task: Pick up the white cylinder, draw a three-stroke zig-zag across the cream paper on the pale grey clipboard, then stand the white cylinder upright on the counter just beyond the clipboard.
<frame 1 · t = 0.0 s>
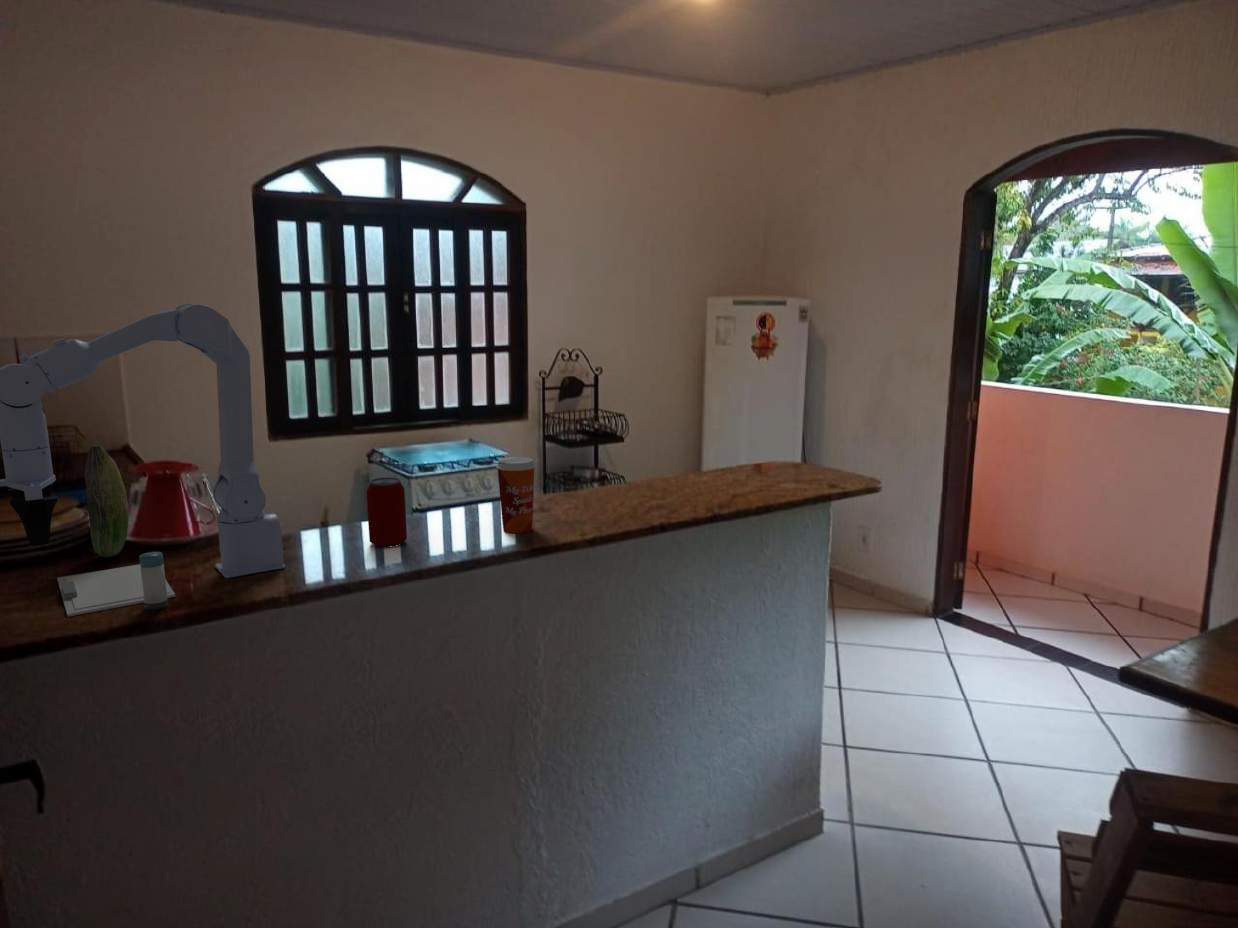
hand: (38, 538, 126), 10 cm above the countertop, tool pointing down, fingers open, 7 cm apart
white cylinder: (156, 606, 127), on the countertop
vegetable: (114, 557, 151), on the countertop
clipboard: (114, 588, 135), on the countertop
beverage can: (388, 544, 159), on the countertop
paper cup: (517, 530, 168), on the countertop
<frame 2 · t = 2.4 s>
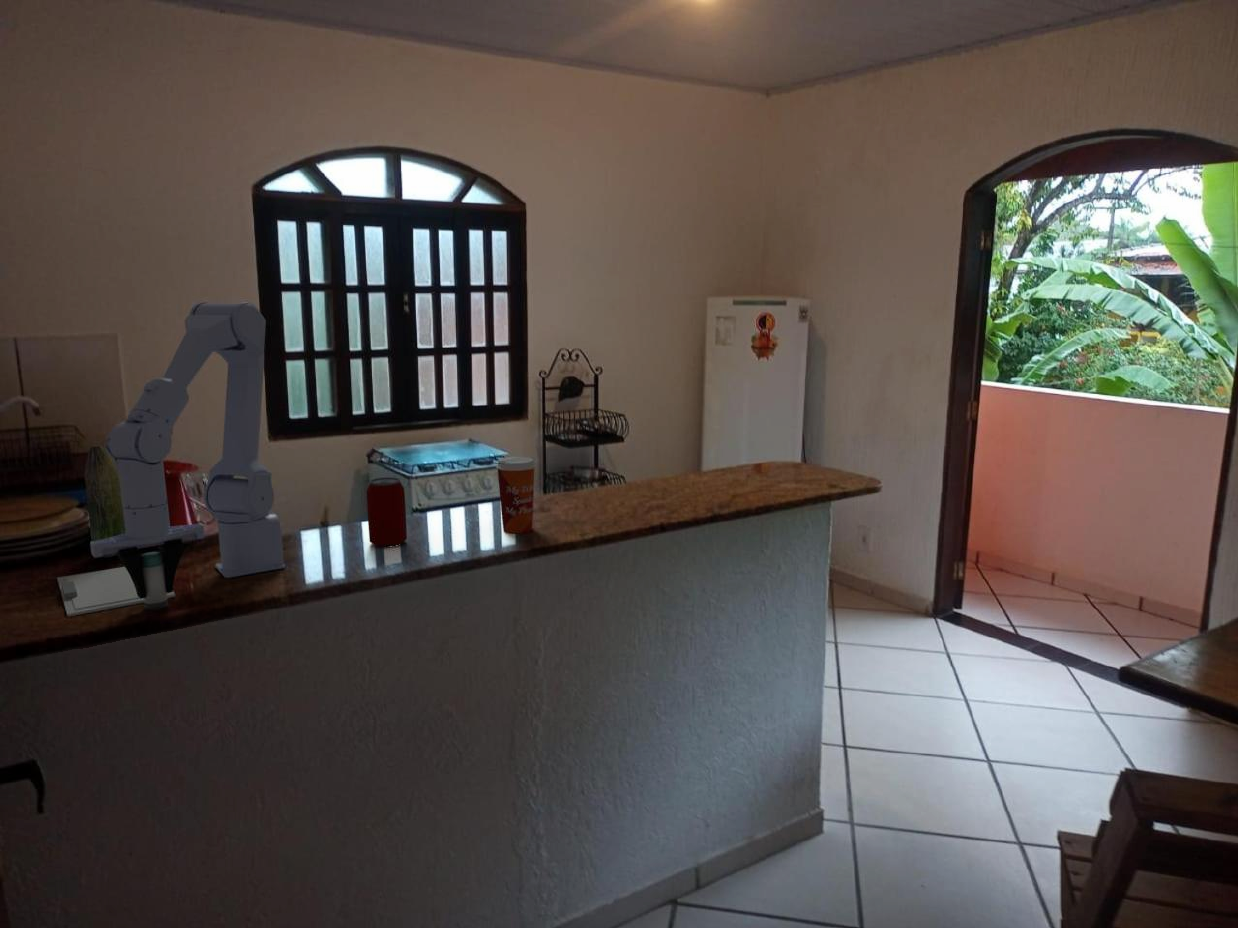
hand: (155, 593, 127), 2 cm above the countertop, tool pointing down, fingers closed on white cylinder, 3 cm apart
white cylinder: (156, 606, 127), on the countertop, touching gripper
everything else where it was.
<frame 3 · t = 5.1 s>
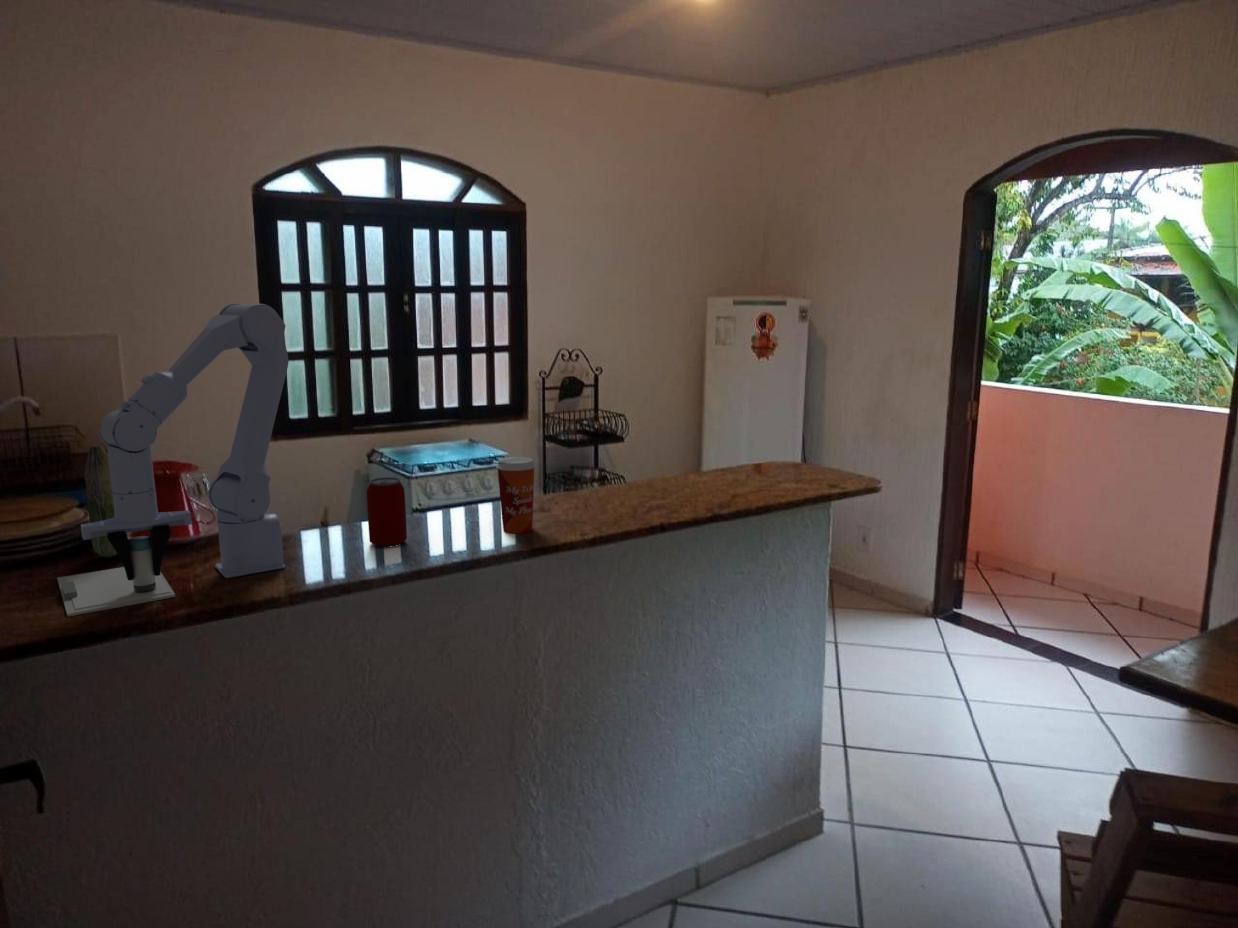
hand: (143, 576, 132), 3 cm above the countertop, tool pointing down, fingers closed on white cylinder, 3 cm apart
white cylinder: (145, 588, 132), point 1 cm above the countertop, touching gripper
everything else where it was.
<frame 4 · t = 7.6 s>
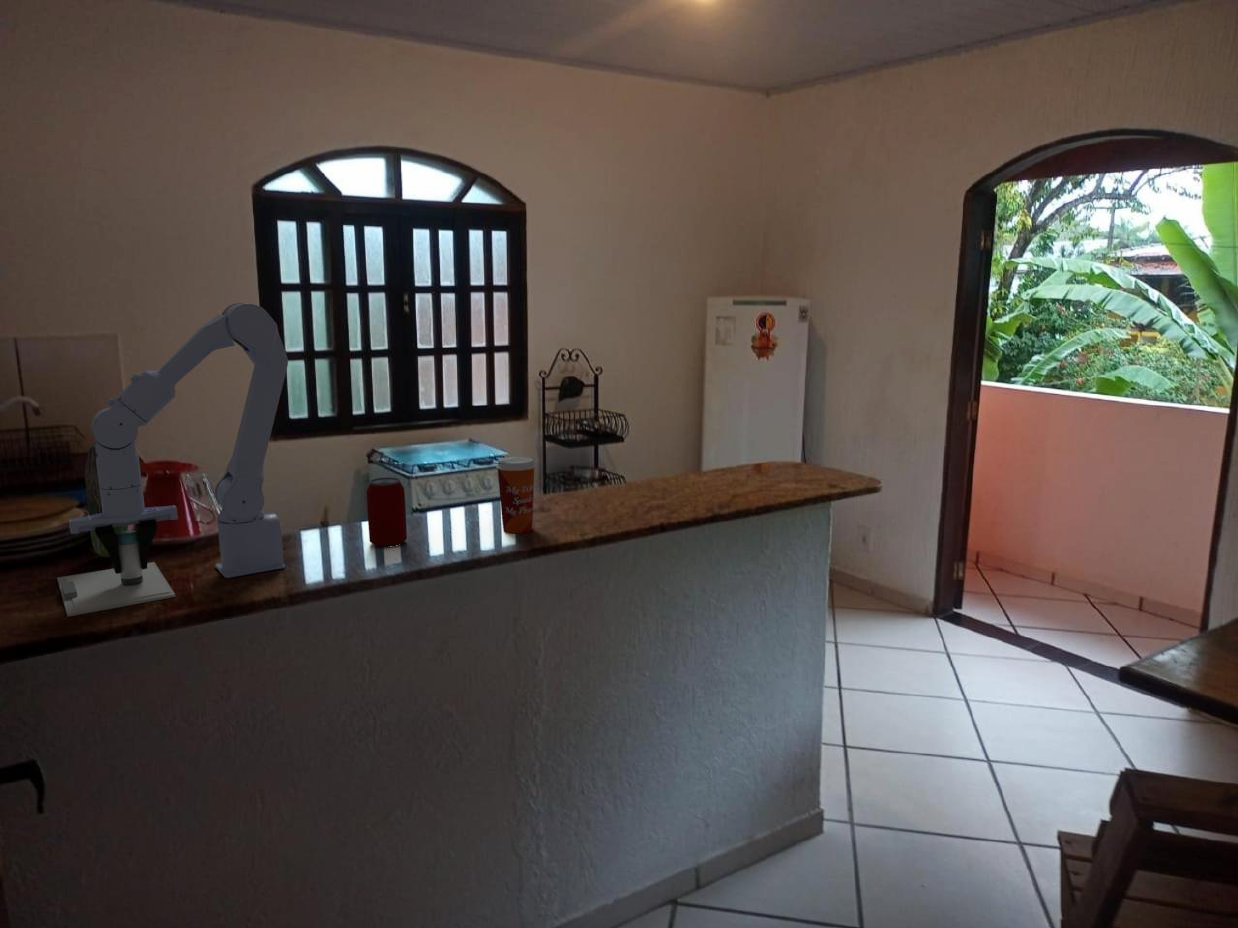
hand: (130, 569, 135), 3 cm above the countertop, tool pointing down, fingers closed on white cylinder, 3 cm apart
white cylinder: (132, 581, 135), point 1 cm above the countertop, touching gripper
everything else where it was.
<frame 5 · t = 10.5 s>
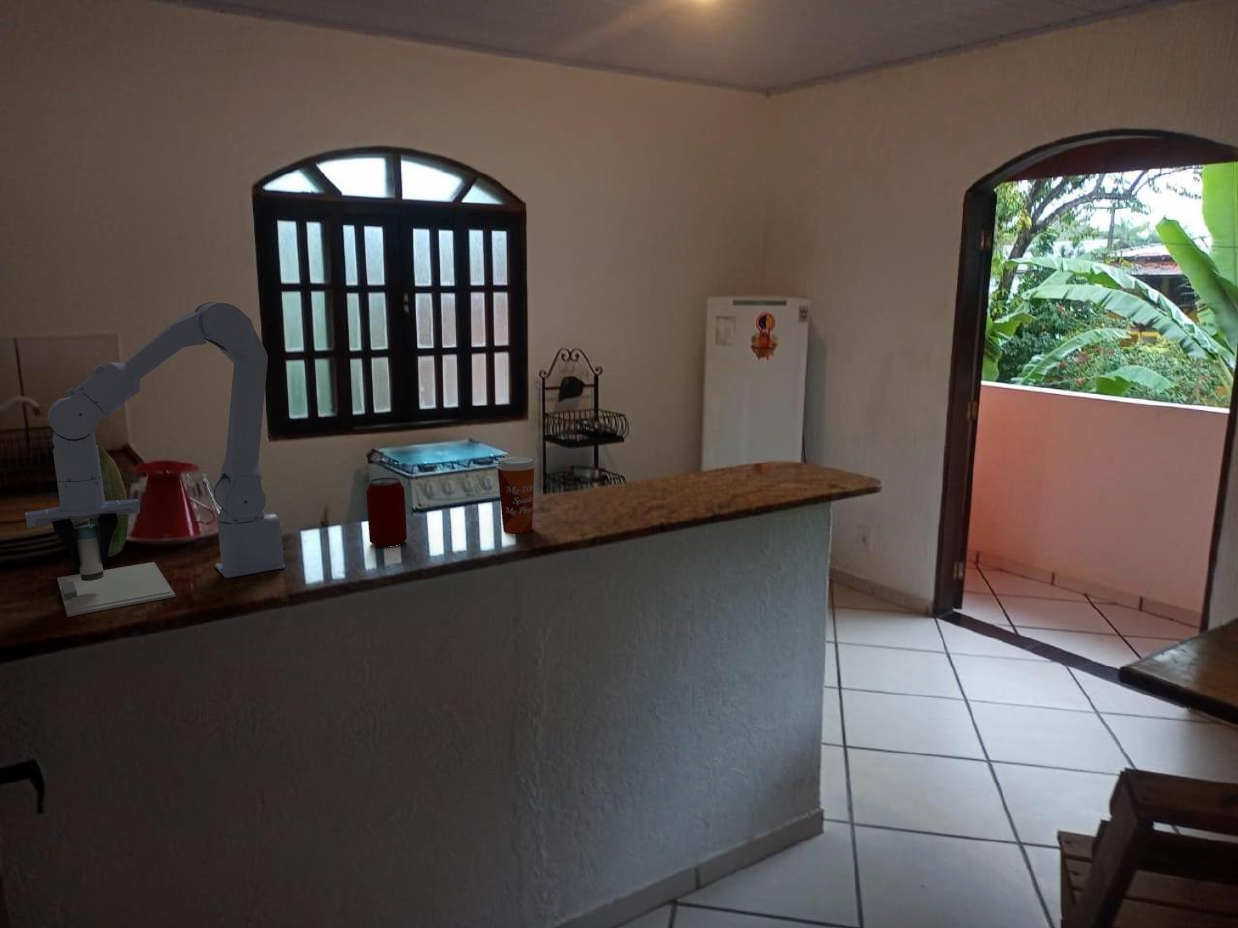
hand: (90, 565, 131), 5 cm above the countertop, tool pointing down, fingers closed on white cylinder, 3 cm apart
white cylinder: (92, 577, 131), point 3 cm above the countertop, touching gripper
everything else where it was.
when the fingers open (3 cm above the countertop, at t = 13.1 s): white cylinder drops 1 cm, on the countertop.
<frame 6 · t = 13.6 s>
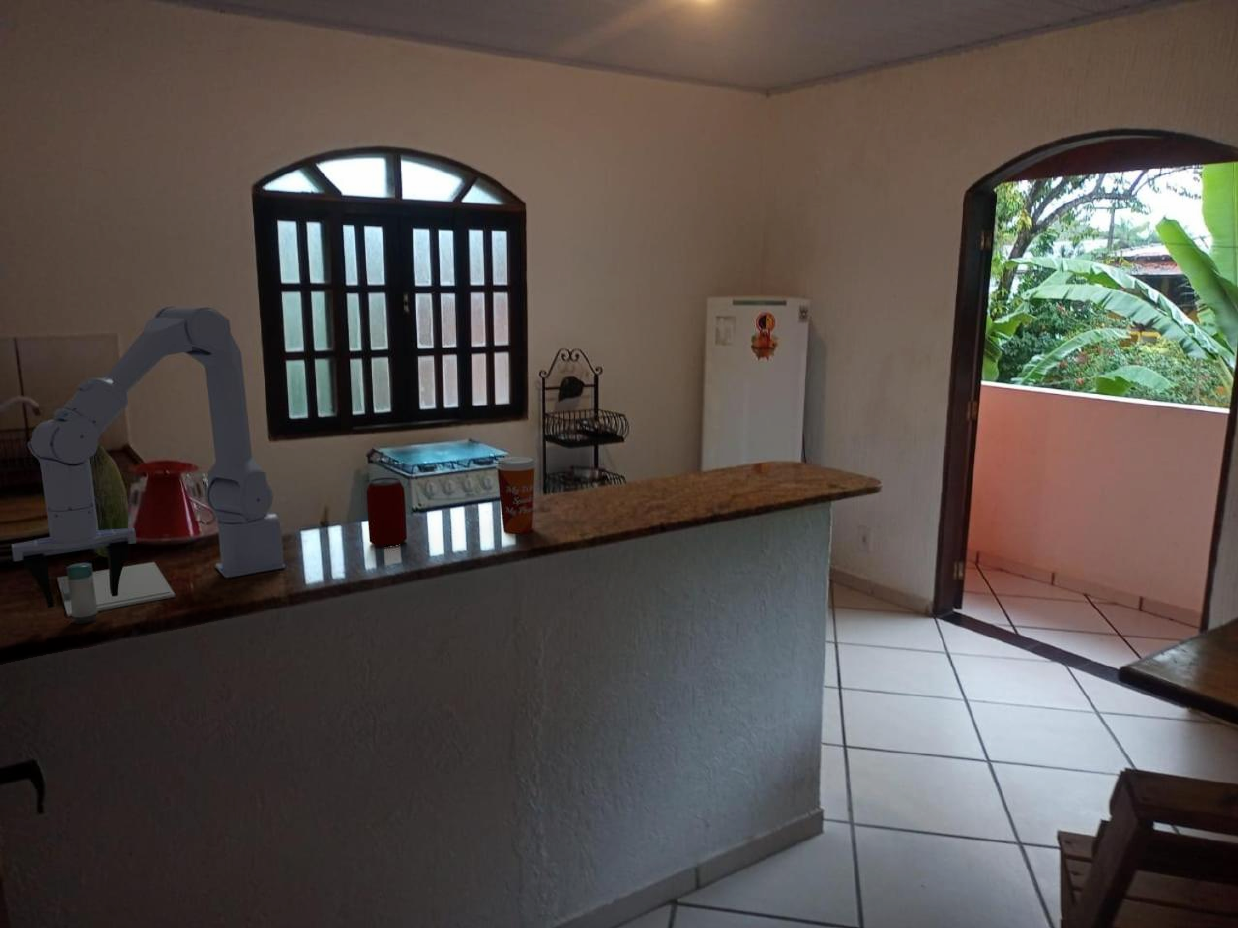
hand: (83, 599, 121), 3 cm above the countertop, tool pointing down, fingers open, 7 cm apart
white cylinder: (86, 619, 122), on the countertop
everything else where it was.
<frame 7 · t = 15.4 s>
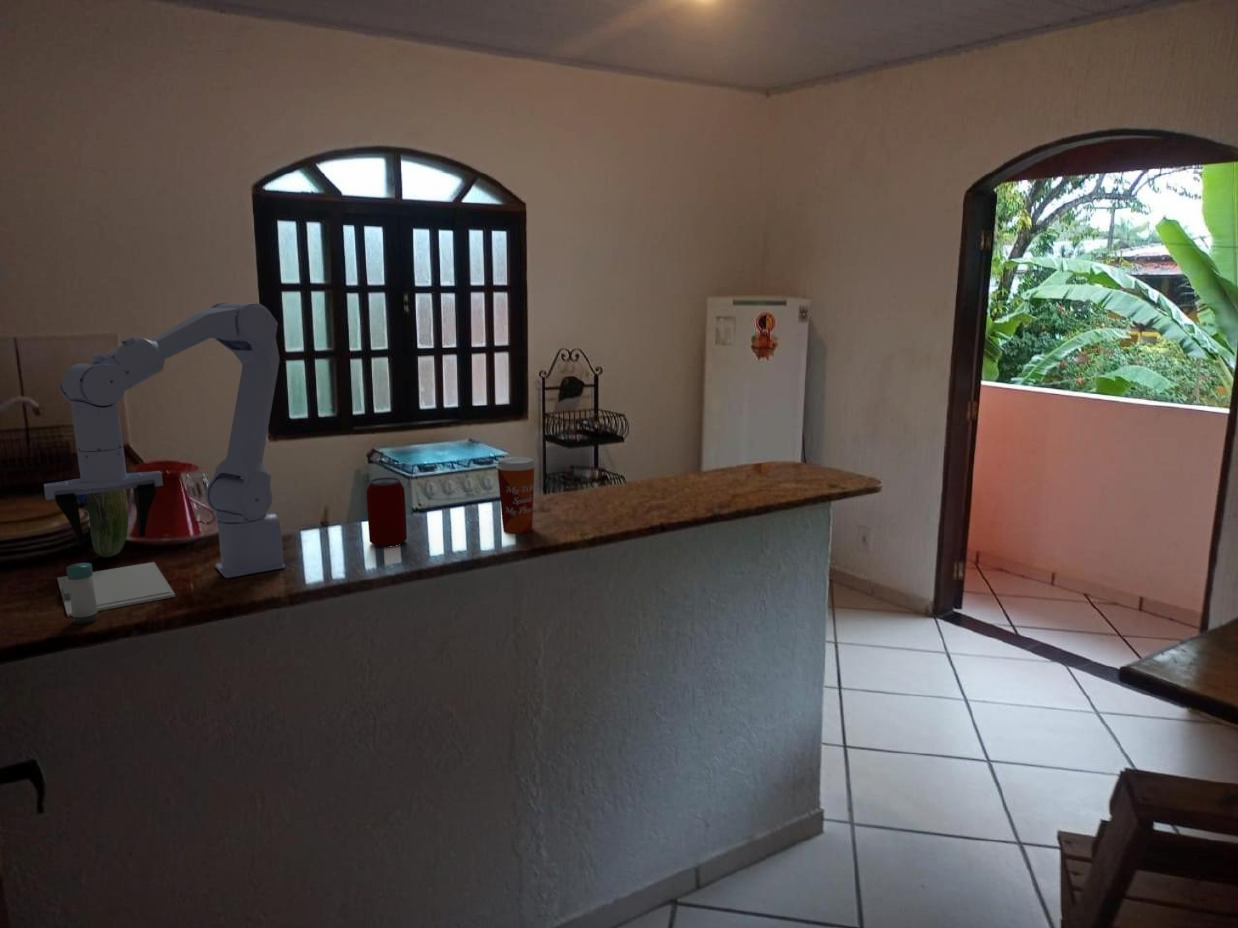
hand: (112, 539, 125), 10 cm above the countertop, tool pointing down, fingers open, 7 cm apart
nothing on the countertop moved.
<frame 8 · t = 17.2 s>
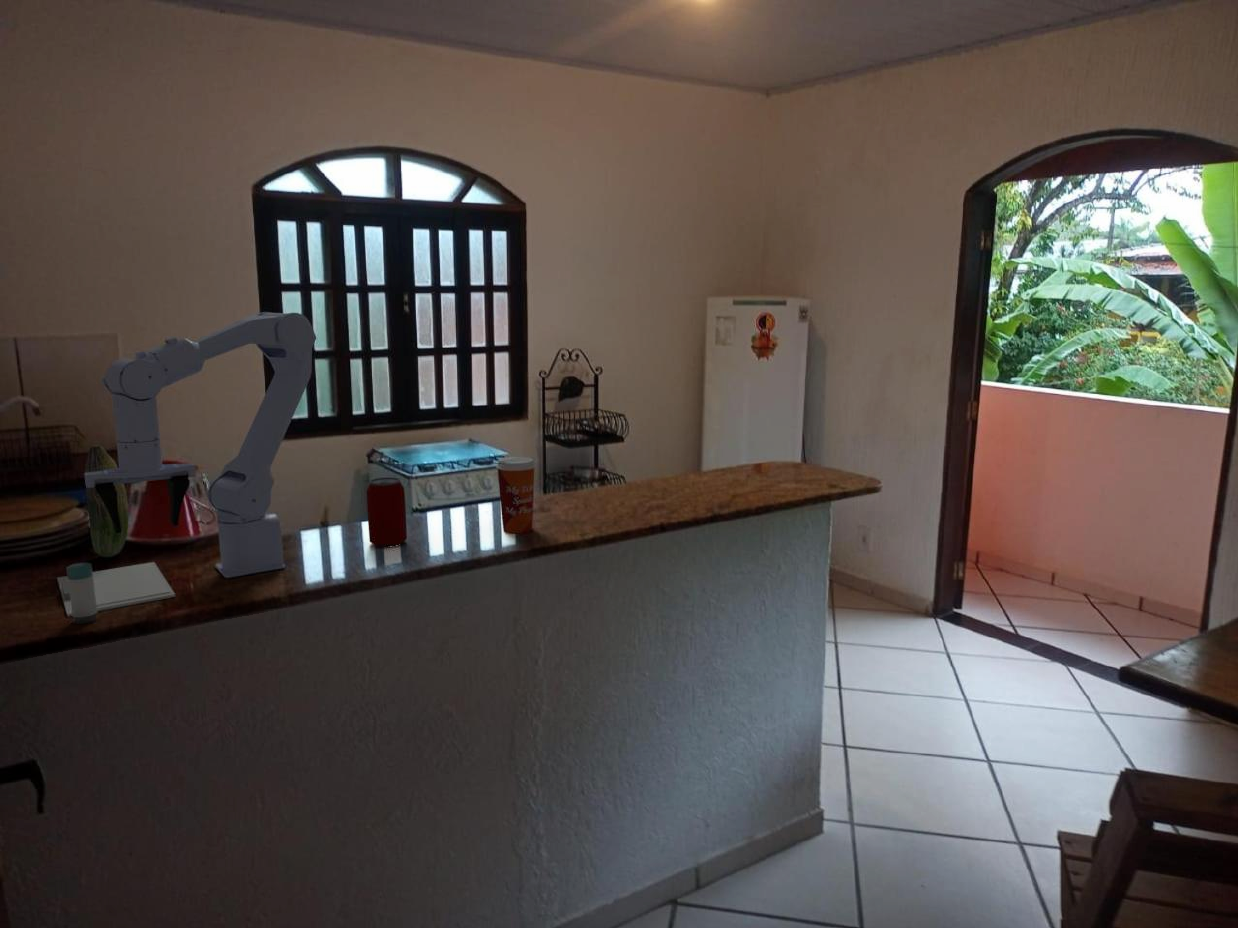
hand: (146, 527, 131), 10 cm above the countertop, tool pointing down, fingers open, 7 cm apart
nothing on the countertop moved.
at the end: white cylinder 0.0 cm from the target spot, on the countertop; white cylinder tilted 0°; the gripper is holding nothing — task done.
